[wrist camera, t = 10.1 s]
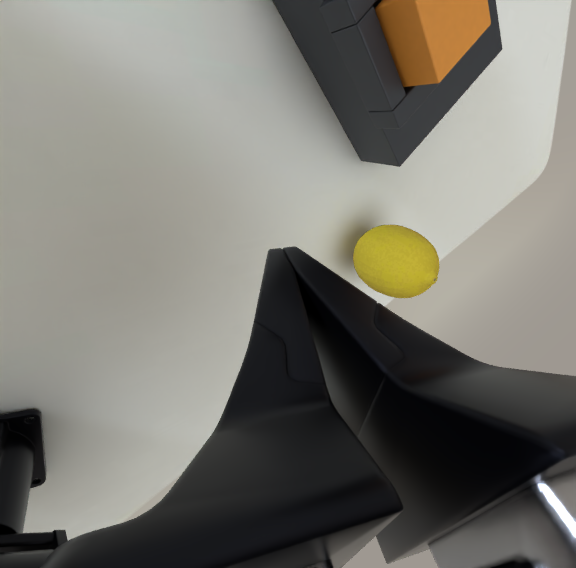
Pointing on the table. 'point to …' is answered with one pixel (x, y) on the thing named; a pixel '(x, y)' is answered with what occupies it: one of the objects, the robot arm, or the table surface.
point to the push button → (377, 75)
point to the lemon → (396, 261)
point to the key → (430, 35)
